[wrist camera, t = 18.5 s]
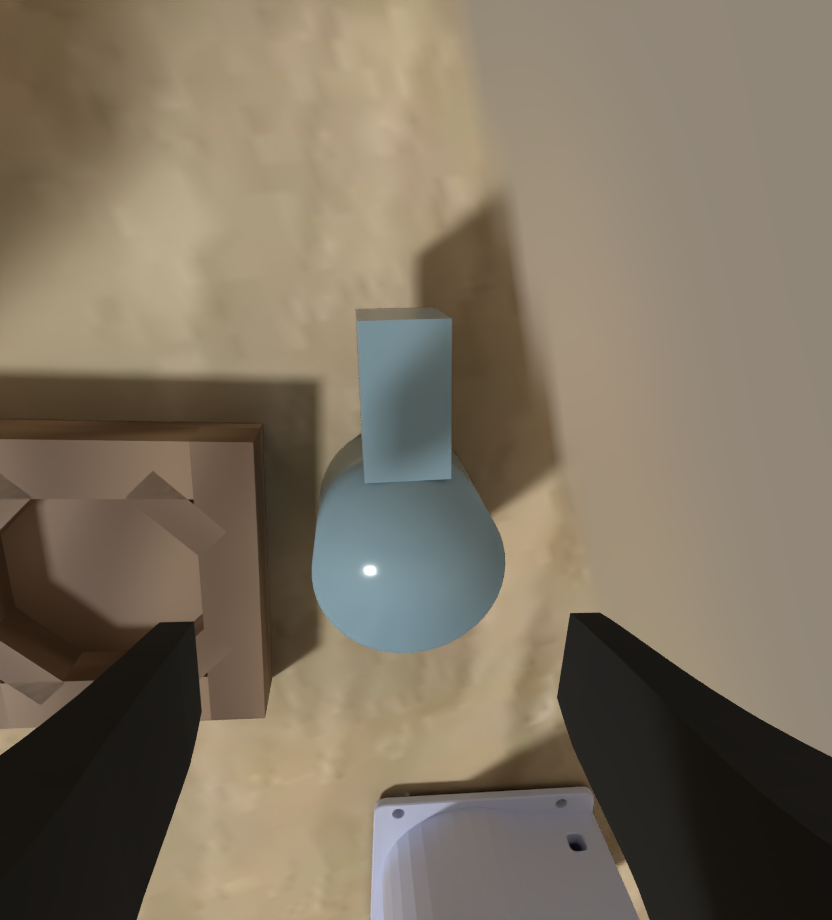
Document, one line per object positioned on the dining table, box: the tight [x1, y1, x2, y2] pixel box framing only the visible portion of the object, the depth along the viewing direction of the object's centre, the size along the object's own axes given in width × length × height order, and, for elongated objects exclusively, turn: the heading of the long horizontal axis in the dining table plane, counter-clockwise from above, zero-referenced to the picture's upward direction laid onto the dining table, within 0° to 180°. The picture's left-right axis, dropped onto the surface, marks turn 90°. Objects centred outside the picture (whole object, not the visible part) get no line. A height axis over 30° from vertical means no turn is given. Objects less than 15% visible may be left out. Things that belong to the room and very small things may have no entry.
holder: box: [0, 419, 272, 729], centre depth 19 cm, size 10×10×2 cm
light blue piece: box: [312, 307, 505, 653], centre depth 18 cm, size 9×5×5 cm, turn 1°
